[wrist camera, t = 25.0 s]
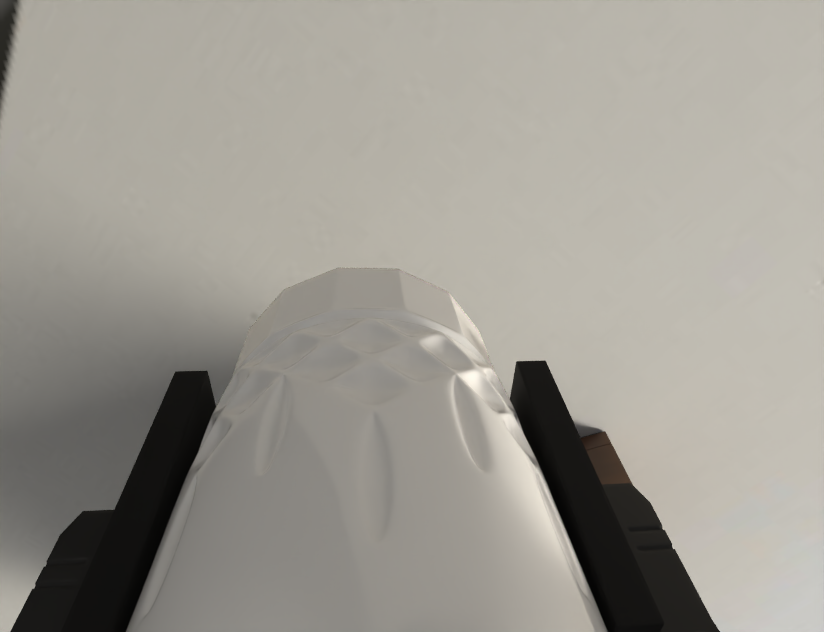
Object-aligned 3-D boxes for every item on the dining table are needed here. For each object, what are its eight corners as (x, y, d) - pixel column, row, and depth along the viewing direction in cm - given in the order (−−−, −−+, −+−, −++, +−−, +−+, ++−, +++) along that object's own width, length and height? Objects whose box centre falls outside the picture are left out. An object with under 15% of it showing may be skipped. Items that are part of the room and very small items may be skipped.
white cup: (342, 177, 12) (309, 633, 4) (557, 350, 16) (777, 791, 7) (168, 384, 15) (-59, 896, 7) (380, 492, 19) (398, 924, 10)
